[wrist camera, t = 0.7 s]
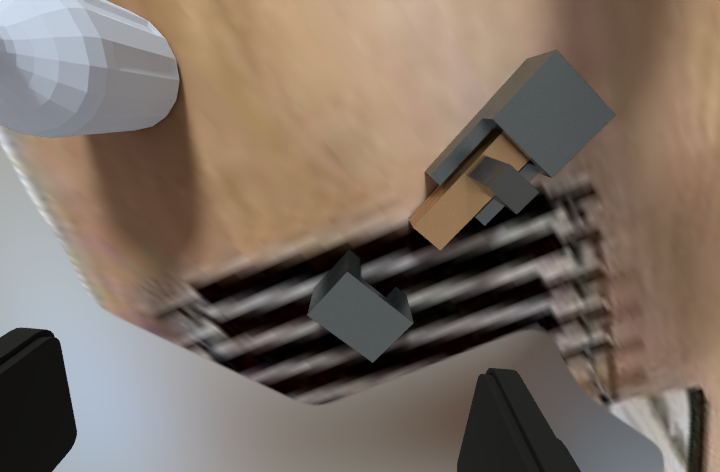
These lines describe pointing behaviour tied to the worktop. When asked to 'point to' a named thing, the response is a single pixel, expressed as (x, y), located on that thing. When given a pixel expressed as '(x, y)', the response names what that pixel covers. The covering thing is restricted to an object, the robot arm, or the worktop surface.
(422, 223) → the sliding bolt with handle
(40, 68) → the soap bottle
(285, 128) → the worktop surface
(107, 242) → the worktop surface
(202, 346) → the worktop surface
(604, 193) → the worktop surface
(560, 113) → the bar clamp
